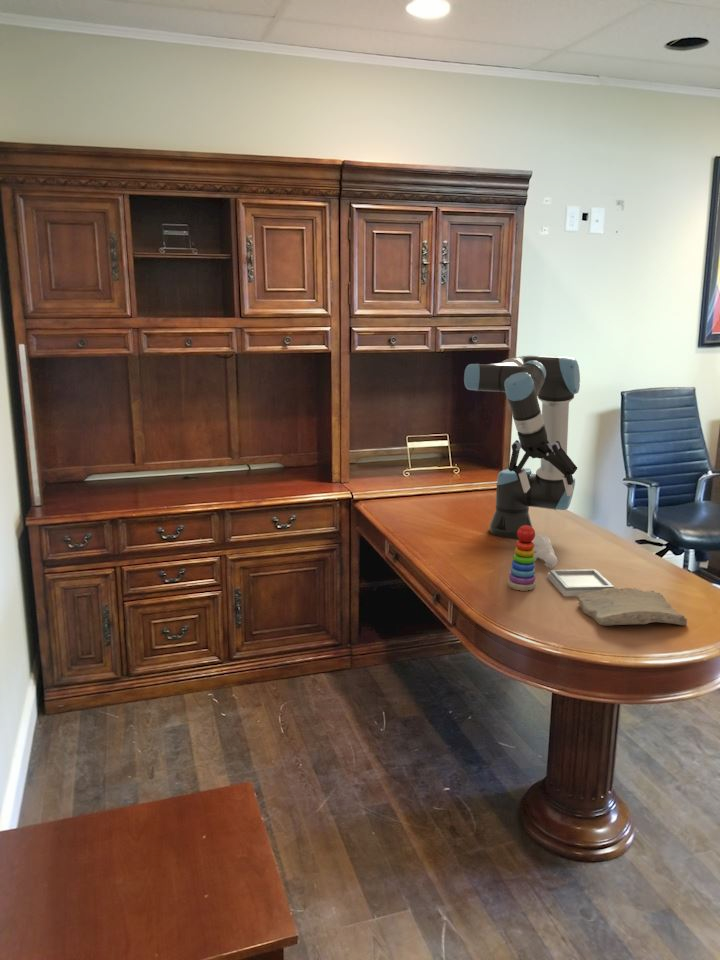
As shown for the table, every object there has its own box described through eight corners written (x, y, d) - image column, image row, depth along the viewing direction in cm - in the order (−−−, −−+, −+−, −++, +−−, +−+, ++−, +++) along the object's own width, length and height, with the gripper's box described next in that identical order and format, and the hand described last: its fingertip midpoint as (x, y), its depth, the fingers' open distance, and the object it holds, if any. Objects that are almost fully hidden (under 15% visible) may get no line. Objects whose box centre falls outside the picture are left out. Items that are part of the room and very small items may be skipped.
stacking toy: (506, 590, 213) (509, 527, 209) (509, 580, 221) (512, 520, 216) (534, 593, 211) (538, 530, 207) (536, 583, 219) (540, 522, 214)
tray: (547, 577, 223) (548, 569, 223) (595, 576, 224) (596, 568, 224) (564, 596, 209) (564, 588, 208) (615, 595, 210) (616, 587, 209)
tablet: (694, 636, 187) (658, 598, 206) (697, 610, 185) (661, 574, 204) (600, 641, 186) (573, 603, 205) (602, 615, 183) (575, 578, 202)
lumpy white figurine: (547, 531, 239) (565, 546, 228) (544, 555, 242) (562, 571, 231) (529, 532, 238) (546, 547, 227) (526, 556, 241) (543, 573, 230)
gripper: (485, 434, 209) (504, 496, 218) (567, 435, 192) (584, 502, 201) (497, 420, 213) (516, 481, 222) (578, 420, 196) (594, 486, 206)
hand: (548, 491), depth 212 cm, fingers open, 13 cm apart
